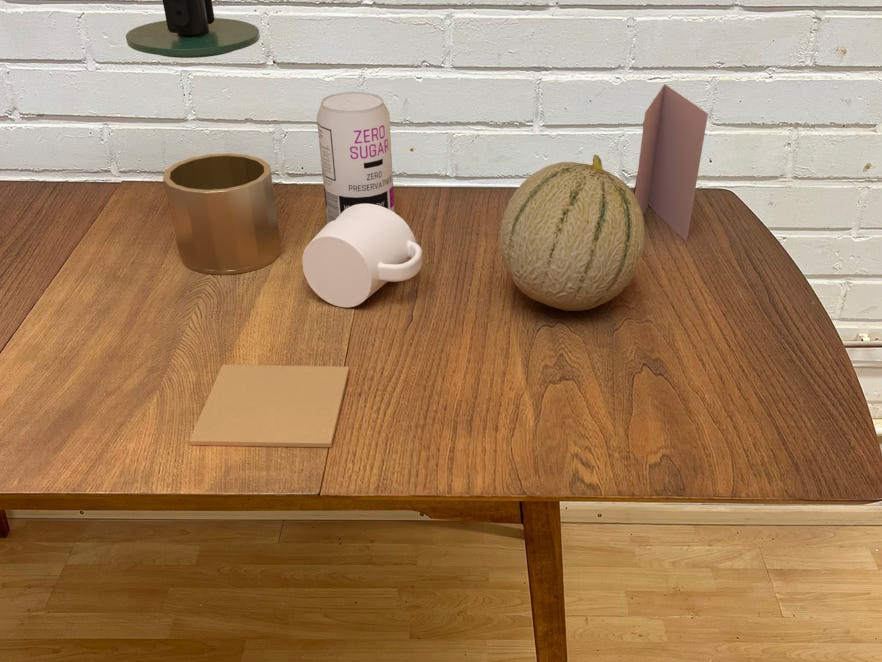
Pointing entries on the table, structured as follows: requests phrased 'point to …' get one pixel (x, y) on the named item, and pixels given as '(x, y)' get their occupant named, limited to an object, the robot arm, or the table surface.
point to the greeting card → (670, 158)
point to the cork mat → (272, 406)
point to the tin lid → (193, 38)
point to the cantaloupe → (572, 235)
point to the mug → (360, 255)
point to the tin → (223, 213)
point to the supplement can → (355, 151)
